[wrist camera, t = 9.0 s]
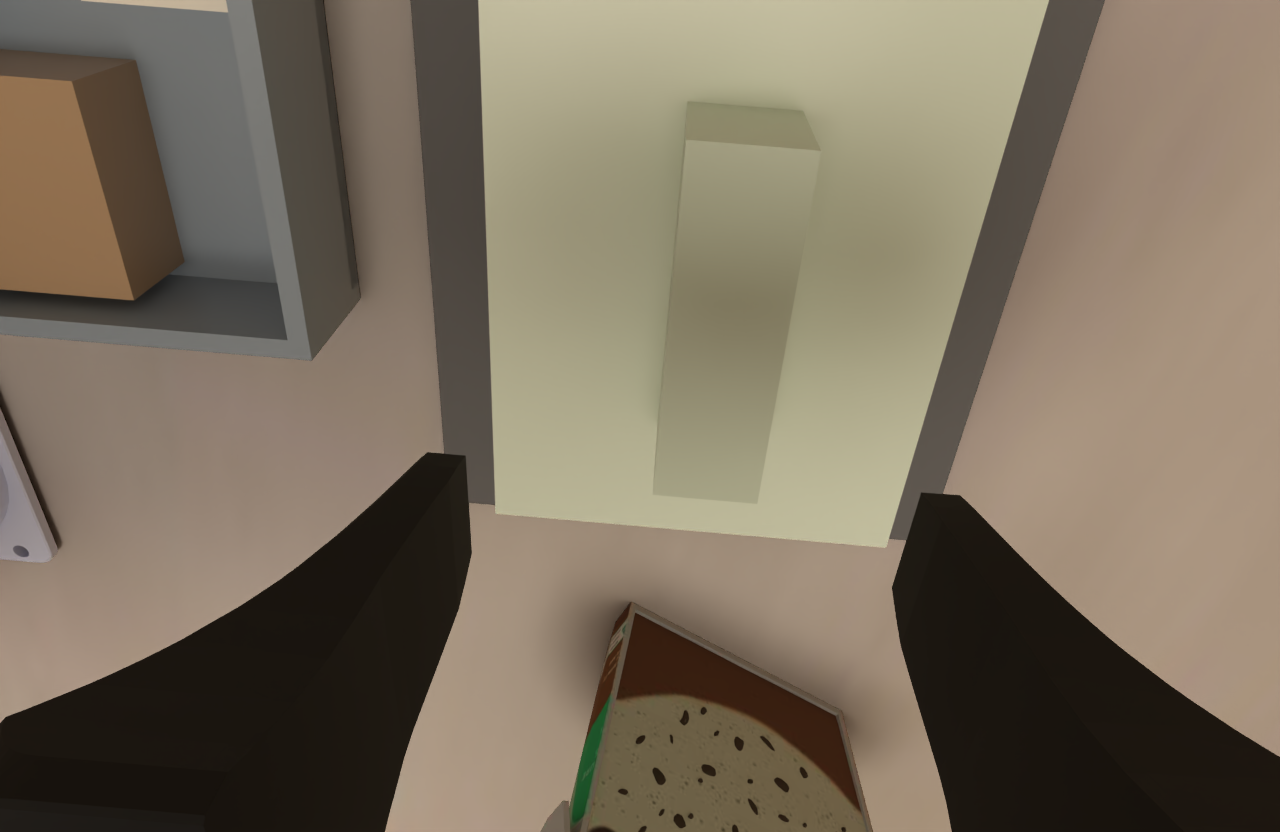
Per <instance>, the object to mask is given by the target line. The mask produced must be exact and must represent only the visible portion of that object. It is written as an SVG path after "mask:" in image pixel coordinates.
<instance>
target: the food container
mask: <svg viewBox="0 0 1280 832" xmlns="http://www.w3.org/2000/svg"><path fill="white" fill-rule="evenodd" d="M541 832H873V830H872V826H871V822H870V818H869V814H868V811H867V807H866V803H865V799H864V795H863V791H862V787H861V784H860V780H859V776H858V772H857V768H856V764H855V760H854V757H853V753H852V749H851V745H850V741H849V737H848V733H847V730H846V726H845V722H844V718H843V714H842V711H841V710H839V709H837V708H835V707H833V706H831V705H829V704H827V703H825V702H824V701H822V700H820V699H818V698H816V697H814V696H812V695H810V694H808V693H806V692H804V691H802V690H800V689H798V688H797V687H795V686H793V685H791V684H789V683H787V682H785V681H783V680H781V679H779V678H777V677H775V676H773V675H771V674H770V673H768V672H766V671H764V670H762V669H760V668H758V667H756V666H754V665H752V664H750V663H748V662H746V661H744V660H743V659H741V658H739V657H737V656H735V655H733V654H731V653H729V652H727V651H725V650H723V649H721V648H719V647H717V646H716V645H714V644H712V643H710V642H708V641H706V640H704V639H702V638H700V637H698V636H696V635H694V634H692V633H690V632H689V631H687V630H685V629H683V628H681V627H679V626H677V625H675V624H673V623H671V622H669V621H667V620H665V619H663V618H662V617H660V616H658V615H656V614H654V613H652V612H650V611H648V610H646V609H644V608H642V607H640V606H638V605H636V604H635V603H633V602H631V603H630V604H629V605H628V607H627V608H626V609H625V610H624V612H623V613H622V614H621V616H620V617H619V618H618V620H617V621H616V622H615V626H614V629H613V632H612V636H611V639H610V642H609V646H608V649H607V653H606V657H605V661H604V665H603V669H602V673H601V678H600V682H599V686H598V690H597V694H596V698H595V702H594V707H593V711H592V715H591V719H590V723H589V727H588V732H587V736H586V740H585V744H584V748H583V752H582V756H581V761H580V765H579V769H578V773H577V777H576V781H575V786H574V790H573V794H572V798H571V802H570V806H569V801H562V802H561V804H560V805H559V806H558V807H557V808H556V809H555V810H554V812H553V813H552V814H551V815H550V816H549V817H548V819H547V821H546V823H545V824H544V826H543V828H542V830H541Z"/></svg>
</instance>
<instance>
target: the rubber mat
mask: <svg viewBox="0 0 1280 832" xmlns="http://www.w3.org/2000/svg"><path fill="white" fill-rule="evenodd" d="M1104 1H1105V0H1049V2H1048V6H1047V9H1046V12H1045V16H1044V19H1043V22H1042V26H1041V29H1040V32H1039V36H1038V39H1037V43H1036V46H1035V49H1034V53H1033V56H1032V59H1031V63H1030V66H1029V69H1028V73H1027V76H1026V79H1025V83H1024V86H1023V90H1022V93H1021V96H1020V100H1019V103H1018V106H1017V110H1016V113H1015V116H1014V120H1013V123H1012V127H1011V130H1010V133H1009V137H1008V140H1007V143H1006V147H1005V150H1004V153H1003V157H1002V160H1001V163H1000V167H999V170H998V174H997V177H996V180H995V184H994V187H993V190H992V194H991V197H990V200H989V204H988V207H987V211H986V214H985V217H984V221H983V224H982V227H981V231H980V234H979V237H978V241H977V244H976V247H975V251H974V254H973V258H972V261H971V264H970V268H969V271H968V274H967V278H966V281H965V284H964V288H963V291H962V294H961V298H960V301H959V305H958V308H957V311H956V315H955V318H954V321H953V325H952V328H951V331H950V335H949V338H948V342H947V345H946V348H945V352H944V355H943V358H942V362H941V365H940V368H939V372H938V375H937V378H936V382H935V385H934V389H933V392H932V395H931V399H930V402H929V405H928V409H927V412H926V415H925V419H924V422H923V426H922V429H921V432H920V436H919V439H918V442H917V446H916V449H915V452H914V456H913V459H912V462H911V466H910V469H909V473H908V476H907V479H906V483H905V486H904V489H903V493H902V496H901V499H900V503H899V506H898V509H897V513H896V516H895V520H894V523H893V526H892V530H891V533H890V536H889V539H897V540H907V537H908V534H909V531H910V527H911V524H912V521H913V518H914V514H915V511H916V508H917V504H918V501H919V498H920V495H921V492H923V493H936V494H943V491H944V488H945V485H946V482H947V479H948V476H949V473H950V470H951V467H952V464H953V461H954V458H955V455H956V452H957V449H958V446H959V443H960V440H961V437H962V433H963V430H964V427H965V424H966V421H967V418H968V415H969V412H970V409H971V406H972V403H973V400H974V397H975V394H976V391H977V388H978V385H979V382H980V379H981V376H982V373H983V370H984V367H985V363H986V360H987V357H988V354H989V351H990V348H991V345H992V342H993V339H994V336H995V333H996V330H997V327H998V324H999V321H1000V318H1001V315H1002V312H1003V309H1004V306H1005V303H1006V300H1007V297H1008V293H1009V290H1010V287H1011V284H1012V281H1013V278H1014V275H1015V272H1016V269H1017V266H1018V263H1019V260H1020V257H1021V254H1022V251H1023V248H1024V245H1025V242H1026V239H1027V236H1028V233H1029V230H1030V227H1031V224H1032V220H1033V217H1034V214H1035V211H1036V208H1037V205H1038V202H1039V199H1040V196H1041V193H1042V190H1043V187H1044V184H1045V181H1046V178H1047V175H1048V172H1049V169H1050V166H1051V163H1052V160H1053V157H1054V154H1055V150H1056V147H1057V144H1058V141H1059V138H1060V135H1061V132H1062V129H1063V126H1064V123H1065V120H1066V117H1067V114H1068V111H1069V108H1070V105H1071V102H1072V99H1073V96H1074V93H1075V90H1076V87H1077V84H1078V81H1079V77H1080V74H1081V71H1082V68H1083V65H1084V62H1085V59H1086V56H1087V53H1088V50H1089V47H1090V44H1091V41H1092V38H1093V35H1094V32H1095V29H1096V26H1097V23H1098V20H1099V17H1100V14H1101V11H1102V7H1103V4H1104ZM411 11H412V24H413V38H414V51H415V65H416V78H417V92H418V105H419V119H420V132H421V145H422V159H423V172H424V186H425V199H426V213H427V226H428V240H429V253H430V267H431V280H432V294H433V307H434V321H435V334H436V348H437V361H438V375H439V388H440V401H441V415H442V428H443V442H444V454H453V455H466V468H467V485H468V501H469V503H479V504H490V505H495V483H494V453H493V423H492V393H491V364H490V334H489V304H488V275H487V245H486V215H485V185H484V156H483V126H482V96H481V67H480V37H479V7H478V0H411Z"/></svg>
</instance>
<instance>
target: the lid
mask: <svg viewBox="0 0 1280 832" xmlns="http://www.w3.org/2000/svg"><path fill="white" fill-rule="evenodd" d="M1048 2H1049V0H478V7H479V37H480V67H481V96H482V126H483V156H484V185H485V215H486V245H487V275H488V304H489V334H490V364H491V393H492V423H493V453H494V483H495V512H496V514H505V515H516V516H528V517H539V518H551V519H562V520H574V521H585V522H596V523H608V524H619V525H631V526H642V527H654V528H665V529H677V530H688V531H700V532H711V533H723V534H734V535H745V536H757V537H768V538H780V539H791V540H803V541H814V542H826V543H837V544H849V545H860V546H872V547H883V548H886V546H887V543H888V540H889V536H890V533H891V530H892V526H893V523H894V520H895V516H896V513H897V509H898V506H899V503H900V499H901V496H902V493H903V489H904V486H905V483H906V479H907V476H908V473H909V469H910V466H911V462H912V459H913V456H914V452H915V449H916V446H917V442H918V439H919V436H920V432H921V429H922V426H923V422H924V419H925V415H926V412H927V409H928V405H929V402H930V399H931V395H932V392H933V389H934V385H935V382H936V378H937V375H938V372H939V368H940V365H941V362H942V358H943V355H944V352H945V348H946V345H947V342H948V338H949V335H950V331H951V328H952V325H953V321H954V318H955V315H956V311H957V308H958V305H959V301H960V298H961V294H962V291H963V288H964V284H965V281H966V278H967V274H968V271H969V268H970V264H971V261H972V258H973V254H974V251H975V247H976V244H977V241H978V237H979V234H980V231H981V227H982V224H983V221H984V217H985V214H986V211H987V207H988V204H989V200H990V197H991V194H992V190H993V187H994V184H995V180H996V177H997V174H998V170H999V167H1000V163H1001V160H1002V157H1003V153H1004V150H1005V147H1006V143H1007V140H1008V137H1009V133H1010V130H1011V127H1012V123H1013V120H1014V116H1015V113H1016V110H1017V106H1018V103H1019V100H1020V96H1021V93H1022V90H1023V86H1024V83H1025V79H1026V76H1027V73H1028V69H1029V66H1030V63H1031V59H1032V56H1033V53H1034V49H1035V46H1036V43H1037V39H1038V36H1039V32H1040V29H1041V26H1042V22H1043V19H1044V16H1045V12H1046V9H1047V6H1048Z"/></svg>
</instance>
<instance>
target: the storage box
mask: <svg viewBox="0 0 1280 832" xmlns="http://www.w3.org/2000/svg"><path fill="white" fill-rule="evenodd" d="M359 300H360V291H359V283H358V275H357V267H356V259H355V251H354V243H353V235H352V227H351V219H350V211H349V203H348V195H347V187H346V179H345V171H344V163H343V155H342V147H341V139H340V131H339V123H338V116H337V107H336V100H335V92H334V84H333V76H332V68H331V60H330V52H329V44H328V36H327V28H326V20H325V12H324V4H323V0H0V334H2V335H13V336H25V337H37V338H49V339H61V340H73V341H85V342H96V343H108V344H120V345H132V346H144V347H156V348H168V349H179V350H191V351H203V352H215V353H227V354H239V355H251V356H263V357H274V358H286V359H298V360H310V361H312V360H313V358H314V357H315V356H316V355H317V353H318V352H319V351H320V350H321V348H322V347H323V346H324V344H325V343H326V342H327V341H328V339H329V338H330V337H331V336H332V334H333V333H334V332H335V331H336V329H337V328H338V327H339V325H340V324H341V323H342V322H343V320H344V319H345V318H346V317H347V315H348V314H349V313H350V311H351V310H352V309H353V308H354V306H355V305H356V304H357V303H358V301H359Z"/></svg>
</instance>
